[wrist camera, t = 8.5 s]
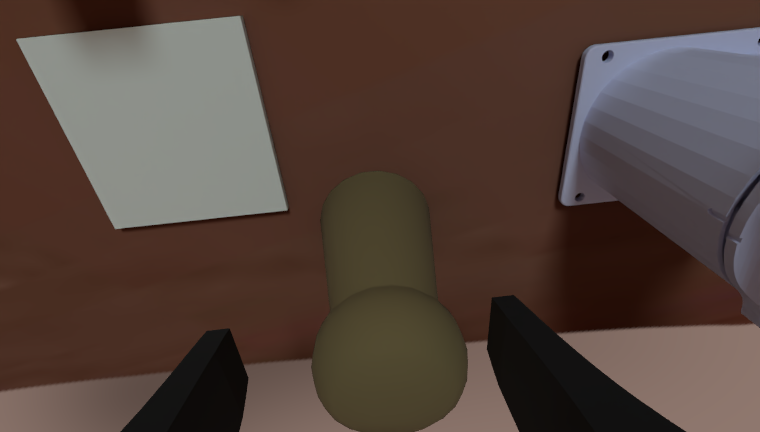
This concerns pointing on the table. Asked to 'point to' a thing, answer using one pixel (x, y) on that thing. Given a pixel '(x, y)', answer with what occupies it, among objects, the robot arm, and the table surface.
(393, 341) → the olive stepped cylinder
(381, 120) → the table surface
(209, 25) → the pale green mat
